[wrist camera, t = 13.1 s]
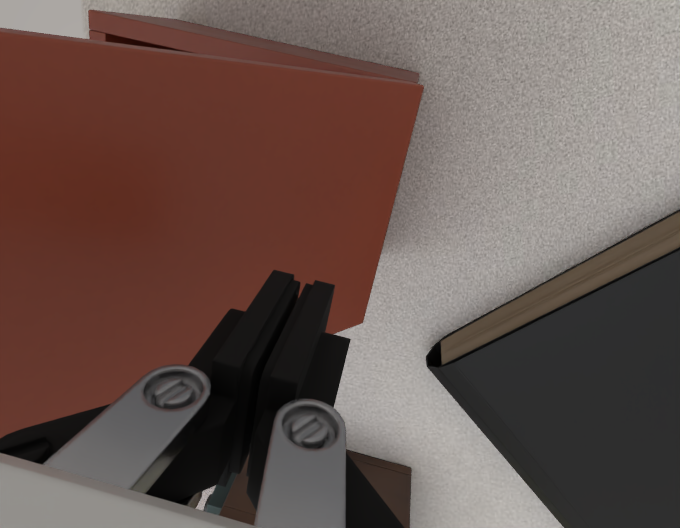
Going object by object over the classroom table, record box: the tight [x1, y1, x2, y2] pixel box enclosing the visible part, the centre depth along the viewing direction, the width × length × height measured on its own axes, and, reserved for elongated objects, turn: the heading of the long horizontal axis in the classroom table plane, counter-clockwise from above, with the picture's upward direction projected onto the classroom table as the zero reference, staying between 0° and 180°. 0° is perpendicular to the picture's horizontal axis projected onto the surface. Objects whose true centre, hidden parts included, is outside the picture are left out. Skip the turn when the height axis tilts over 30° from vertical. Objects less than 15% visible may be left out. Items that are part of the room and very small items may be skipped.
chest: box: [88, 10, 419, 84], centre depth 25 cm, size 15×12×8 cm
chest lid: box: [0, 28, 424, 438], centre depth 16 cm, size 15×12×1 cm
